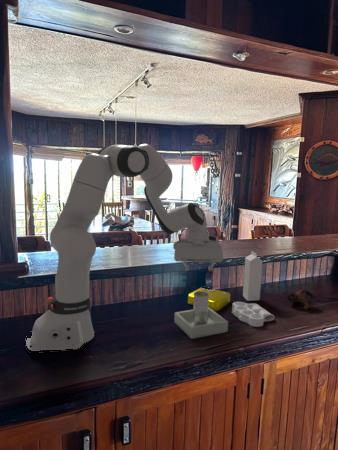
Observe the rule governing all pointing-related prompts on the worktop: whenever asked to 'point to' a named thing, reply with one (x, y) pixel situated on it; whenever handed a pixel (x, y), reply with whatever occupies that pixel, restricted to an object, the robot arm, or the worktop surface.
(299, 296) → the turtle figurine
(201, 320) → the gray flashlight
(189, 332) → the sage bin
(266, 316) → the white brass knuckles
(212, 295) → the element tile
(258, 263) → the milk
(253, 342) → the worktop surface
